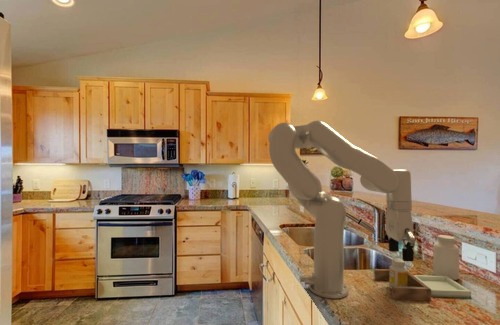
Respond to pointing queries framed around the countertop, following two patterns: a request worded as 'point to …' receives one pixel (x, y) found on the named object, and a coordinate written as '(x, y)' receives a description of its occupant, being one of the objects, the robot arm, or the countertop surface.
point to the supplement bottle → (398, 273)
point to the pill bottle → (446, 257)
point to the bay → (407, 293)
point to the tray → (444, 286)
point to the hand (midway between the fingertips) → (400, 255)
